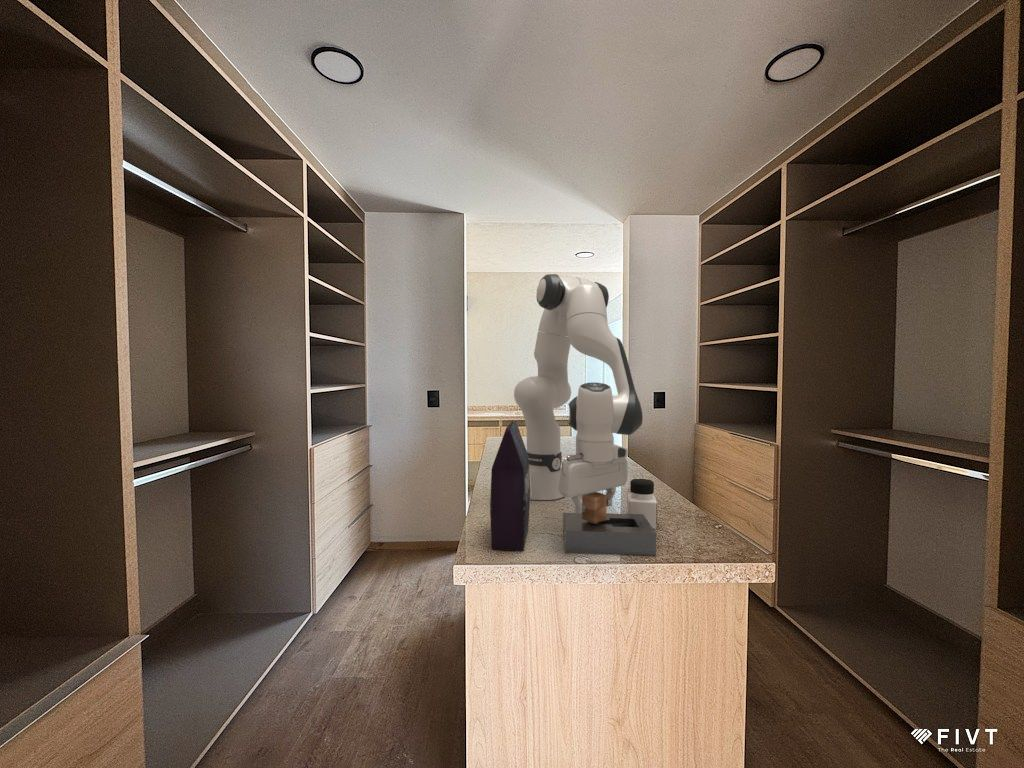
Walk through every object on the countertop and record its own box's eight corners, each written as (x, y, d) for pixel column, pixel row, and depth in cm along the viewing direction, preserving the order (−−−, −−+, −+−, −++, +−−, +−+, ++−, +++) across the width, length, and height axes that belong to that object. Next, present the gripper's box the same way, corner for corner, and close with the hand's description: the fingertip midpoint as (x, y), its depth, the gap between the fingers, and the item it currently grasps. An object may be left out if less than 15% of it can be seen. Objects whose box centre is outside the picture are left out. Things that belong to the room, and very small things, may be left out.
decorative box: (530, 527, 118) (530, 420, 117) (525, 552, 102) (525, 428, 101) (499, 525, 119) (499, 420, 118) (489, 550, 102) (489, 428, 102)
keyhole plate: (565, 552, 101) (565, 530, 101) (562, 531, 114) (562, 512, 114) (656, 555, 100) (656, 533, 100) (642, 534, 113) (643, 514, 113)
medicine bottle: (656, 529, 116) (657, 483, 116) (628, 527, 118) (629, 482, 117) (653, 520, 123) (654, 477, 123) (627, 518, 125) (627, 475, 124)
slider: (594, 547, 104) (594, 498, 104) (580, 541, 108) (581, 493, 108) (607, 543, 107) (607, 494, 107) (593, 537, 111) (593, 490, 110)
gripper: (572, 458, 98) (571, 521, 98) (632, 449, 110) (631, 504, 111) (552, 454, 103) (552, 514, 104) (612, 445, 115) (611, 499, 116)
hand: (594, 509), depth 107 cm, fingers open, 8 cm apart
